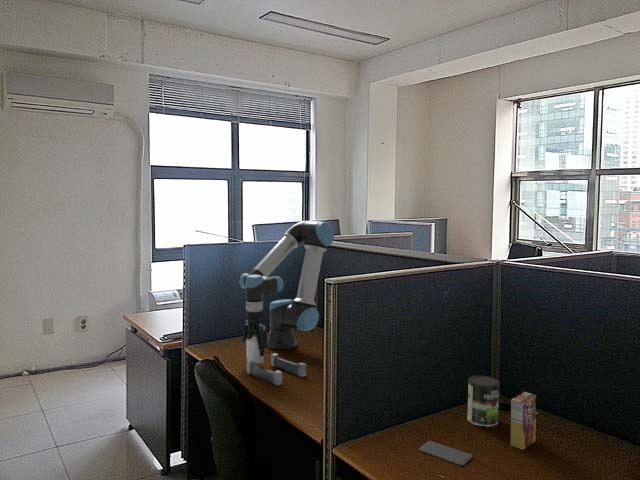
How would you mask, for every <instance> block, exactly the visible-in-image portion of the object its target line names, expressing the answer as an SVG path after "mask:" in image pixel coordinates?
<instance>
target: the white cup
mask: <svg viewBox="0 0 640 480" xmlns="http://www.w3.org/2000/svg"><path fill="white" fill-rule="evenodd" d="M245 339H246V338H245ZM258 348H259V346H258V341H257V338H256V336H253V337H252V338H251V339H248V338H247V339H246V344H245V350H246V349H247V359H246V360H247V361H249V360H252V361H254V364H259V363H258Z"/></svg>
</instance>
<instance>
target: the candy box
mask: <svg viewBox="0 0 640 480" xmlns="http://www.w3.org/2000/svg"><path fill="white" fill-rule="evenodd" d="M510 403H511V404H510V446H511V445H512V446H515V447H517V448H520V449H522V450H523V449H525V448H526V447H528V446H529V445H530V444H532V443H533V442H534V441H535V442H536V432H537V431H536V426H537V425H536V424H537V418H536V417H537V415H536V414H537V412H536V411H537V395H536V394H533V393H529V392H527V391H523V392H521V393H520V394H518V395H517V396H515V397H513V398H511V400H510ZM535 442H534V443H535ZM534 443H533V444H534ZM533 444H532V445H533ZM530 446H531V445H530ZM530 446H529V447H530ZM529 447H528V448H529ZM526 449H527V448H526ZM526 449H525V450H526Z"/></svg>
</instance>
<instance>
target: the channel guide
mask: <svg viewBox="0 0 640 480" xmlns="http://www.w3.org/2000/svg"><path fill="white" fill-rule="evenodd" d="M270 366H271V367H274V368H278V370H275V371H273V370H270V369H268V368H265V367H262V366H260V365H256V364H255V363H254V361H252V360H249V361H248V360H246V374H248V375H252V376H254V377H257V378H260V379H262V380H263V381H264V380H265V381H267V382H270V383H272V384H274V385H275V386H280V385H282V384H283V371H281V370H284V371H286V372H289V373H291V374H293V375H297V376H298V377H301V378H304V377H307V363H305V362H299V363H295V362H293V361H291V360H290V361H289V360H287V359H284V358H281V357H279V353H275V352H274V353H271V354H270ZM279 369H280V370H279Z"/></svg>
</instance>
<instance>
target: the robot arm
mask: <svg viewBox="0 0 640 480" xmlns="http://www.w3.org/2000/svg"><path fill="white" fill-rule="evenodd" d="M334 241H335V231H334V229H333V226H332V225H331V224H330V223H329V222H328V221H323V220H318V221H317V220H301V221H299V222H297V223H294V224H293V225H292V226H290V227H289V228H288V229H287V230H286V231H285V232H284V233H283V234H282V236H281V239H280V240H279V241H278V242H277V243H276V244H275V245H274V246H273V248H271V250H270V251H268V253H267V254H266V255H265V256H264V257H263V258H262V259H261V260H260V261H259V262H258V263H257V264H256V266H255V267H254V268H253V269H252V270H251V271H250V272H246V273H242V274H241V275H240V277H239V280H238V281H239V282H238V283H239V286H240V287H241V288H242V289H244V290H245V309H246V311H245V318H246V320H244V321H243V328H242V329H243V332H242V342H243V343H244V344H245V345H246V339H247V338H248V339H251V338H252V337H254V334H255V337H256V338H257V341H258V346H259V348H258V363H257V364H262V363H263V364H264V363H265V361H264V359H265V349H267V348H268V349H271V350H272V349H273V350H291V349H293V348H295V347H297V339H296V336H295V332H294V329H295V330H298V331H301V332H302V331H304V332H310V331H311V330H313V329H314V328H315V327H316V326H317V324H318V322H319V318H320V313H319V311H318V309H317V304H316V302H315V296H316V292H317V291H316V290H317V286H318V281H319V276H320V271H321V265H322V262H323V261H322V260H323V255H324V253H325V252H326V251H328V247H329V246H331V245H332V244H333V242H334ZM302 244H303V246H304V248H305V254H304V258H303V262H302V263H303V264H302V268H301V272H300V273H301V274H300V279H299V283H298V288H297V294H296V297H295V298H293V299H291V298H289V299H285V298H284V299H277V300H274V301H273V300H272V301H271V302H270V303H269V310H268V311H269V333H268V336H267V325H266V324H265V325H264V324H263V322H262V320H263V319H264V311H263V310H264V296H267V295H272V294H278V293H280V292H281V291H282V290H284V286H285V285H284V280H283V278H282V277H280V276H279V275H275V276H274V275H273V276H270V275H271V273H272V272H273V271H274V270H275V269H276V268H277V267H278V266H279V265H280V264H281V263H282V262H283V261H284V260H285V258H286V257H287V256H288V255H289V254H290V253H291V251H293V249H297V248H298V247H299V246H300V245H302ZM245 351H246V355H245V356H246V360H248V359H247V349H246V348H245Z"/></svg>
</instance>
